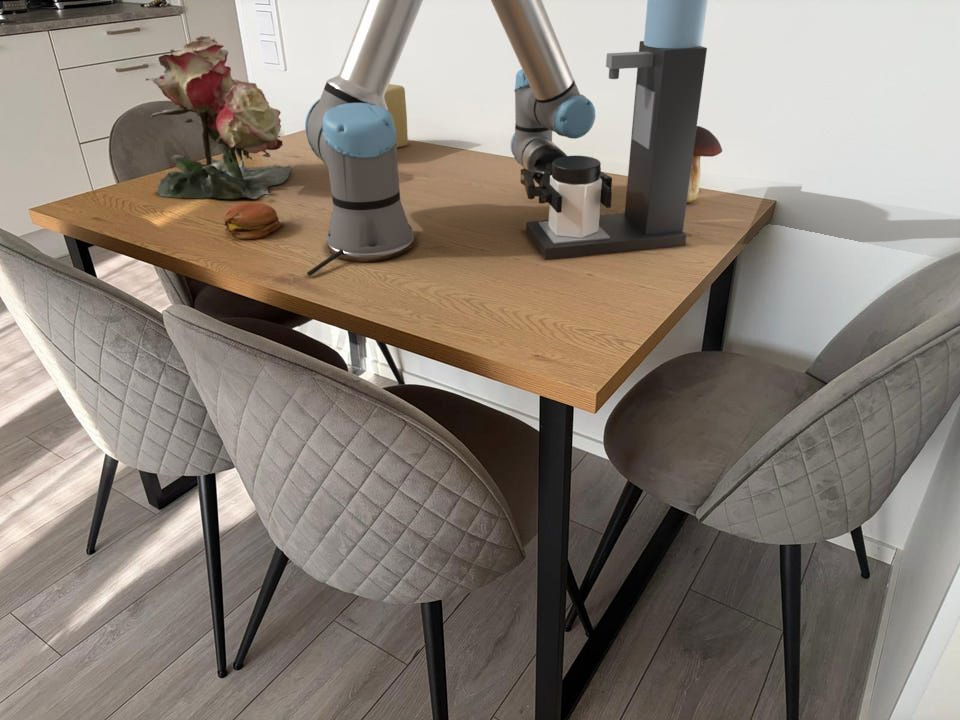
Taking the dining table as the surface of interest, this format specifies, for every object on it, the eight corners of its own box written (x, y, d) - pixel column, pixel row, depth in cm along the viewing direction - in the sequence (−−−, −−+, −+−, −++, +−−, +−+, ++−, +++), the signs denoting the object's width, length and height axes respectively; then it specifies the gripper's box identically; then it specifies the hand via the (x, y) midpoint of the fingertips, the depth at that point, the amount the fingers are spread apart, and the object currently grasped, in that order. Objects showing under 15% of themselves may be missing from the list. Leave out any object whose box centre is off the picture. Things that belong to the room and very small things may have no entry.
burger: (284, 221, 142) (280, 198, 140) (273, 239, 134) (268, 215, 132) (234, 222, 142) (229, 199, 140) (219, 240, 134) (214, 216, 132)
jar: (604, 236, 126) (609, 167, 120) (559, 240, 125) (561, 171, 119) (586, 218, 134) (590, 152, 128) (544, 222, 132) (545, 156, 126)
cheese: (351, 167, 172) (343, 101, 164) (321, 161, 176) (312, 97, 169) (410, 145, 187) (406, 84, 179) (381, 140, 192) (376, 80, 184)
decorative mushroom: (718, 197, 149) (729, 121, 141) (708, 214, 141) (720, 135, 133) (664, 190, 153) (673, 117, 145) (652, 207, 145) (660, 130, 137)
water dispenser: (544, 259, 124) (553, -43, 101) (525, 232, 135) (529, -47, 111) (690, 244, 128) (731, -49, 105) (660, 219, 139) (691, -52, 116)
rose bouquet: (275, 202, 152) (248, 46, 136) (145, 197, 156) (105, 46, 140) (317, 166, 173) (299, 28, 157) (202, 163, 177) (173, 28, 162)
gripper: (596, 178, 145) (641, 217, 126) (494, 187, 141) (524, 229, 122) (599, 140, 141) (645, 175, 122) (493, 148, 137) (524, 185, 118)
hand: (584, 202), depth 122 cm, fingers closed on jar, 8 cm apart
